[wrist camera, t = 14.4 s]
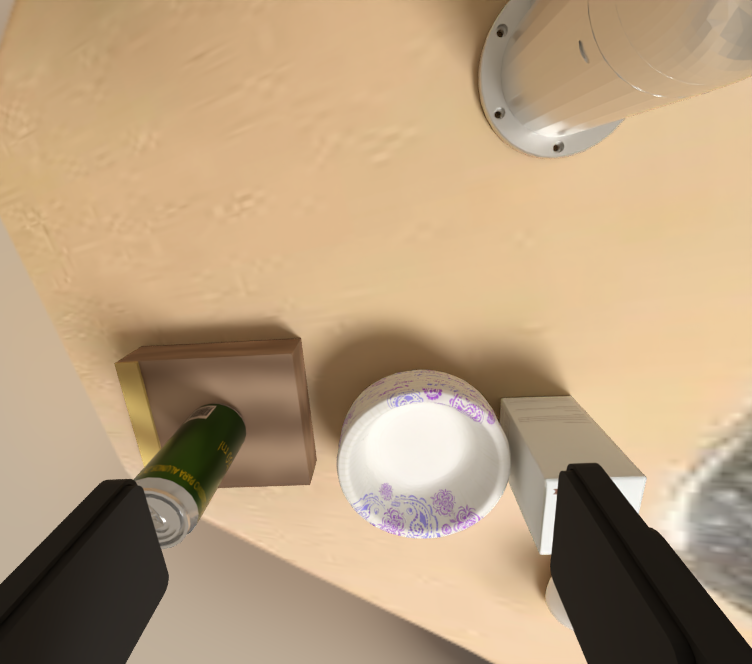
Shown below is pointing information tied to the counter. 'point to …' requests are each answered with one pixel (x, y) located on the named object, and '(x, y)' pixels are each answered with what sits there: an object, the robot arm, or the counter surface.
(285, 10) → the counter surface
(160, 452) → the beer can
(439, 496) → the paper bowls
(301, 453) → the gold striped gift box
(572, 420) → the supplement box
